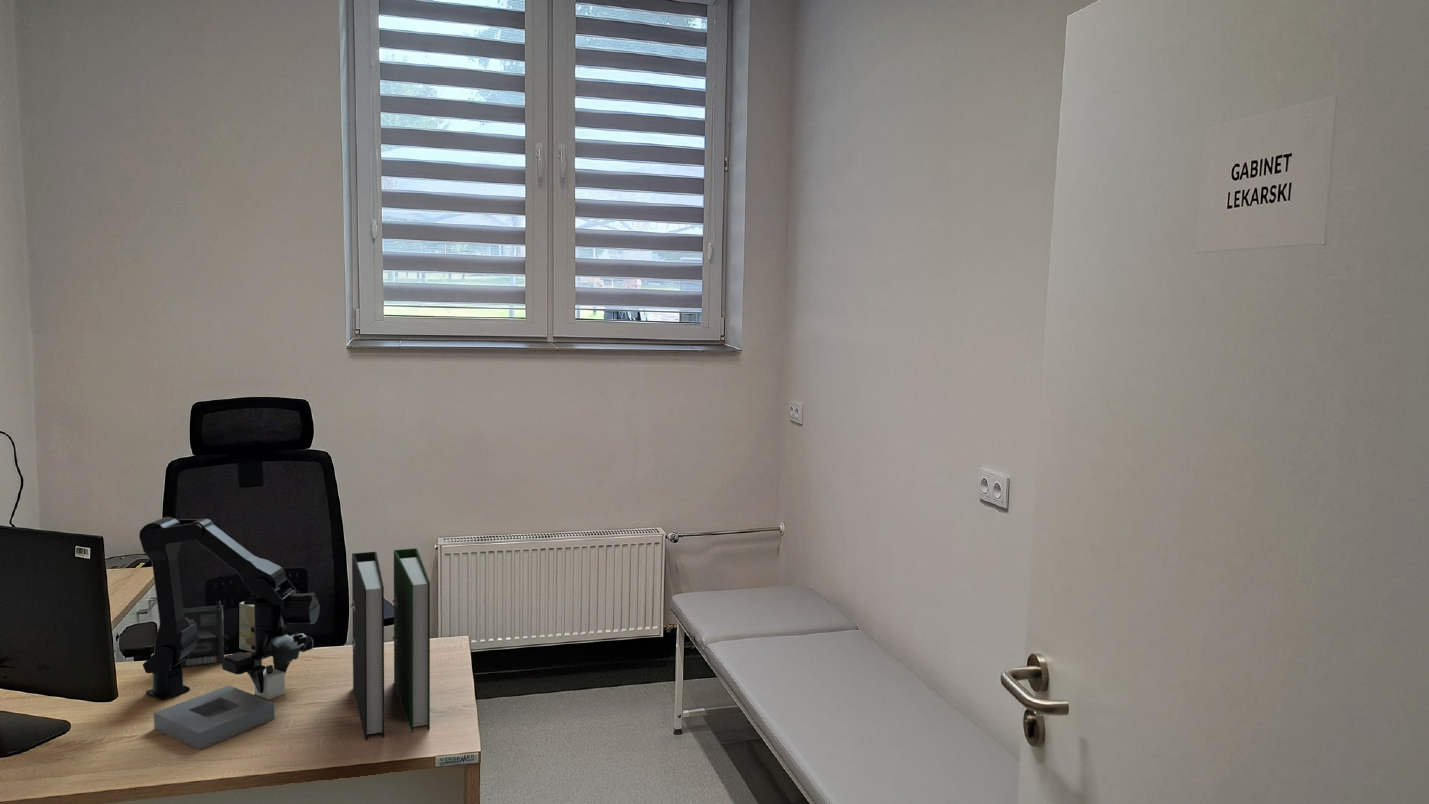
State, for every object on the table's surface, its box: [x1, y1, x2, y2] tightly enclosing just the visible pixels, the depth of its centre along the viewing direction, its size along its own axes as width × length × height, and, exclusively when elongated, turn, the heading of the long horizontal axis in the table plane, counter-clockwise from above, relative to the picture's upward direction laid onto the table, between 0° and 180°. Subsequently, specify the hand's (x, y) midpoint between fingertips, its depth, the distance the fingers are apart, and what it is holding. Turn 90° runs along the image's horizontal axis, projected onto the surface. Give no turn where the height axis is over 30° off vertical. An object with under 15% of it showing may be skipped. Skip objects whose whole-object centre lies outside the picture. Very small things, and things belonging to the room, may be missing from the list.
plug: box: [254, 664, 286, 701], centre depth 199 cm, size 5×4×6 cm
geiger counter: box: [182, 600, 229, 669], centre depth 214 cm, size 10×4×15 cm, turn 113°
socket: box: [153, 685, 276, 751], centre depth 184 cm, size 16×16×4 cm
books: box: [349, 547, 431, 741], centre depth 193 cm, size 27×15×32 cm, turn 26°
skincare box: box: [238, 600, 255, 653], centre depth 224 cm, size 6×4×12 cm
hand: (269, 689), depth 199 cm, fingers closed on plug, 4 cm apart
